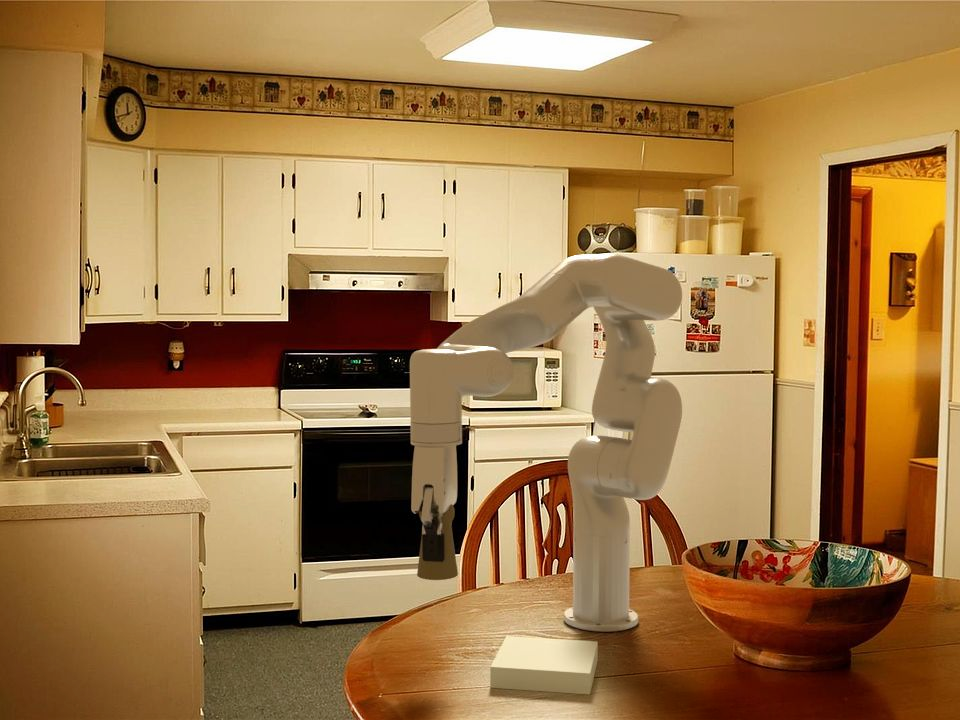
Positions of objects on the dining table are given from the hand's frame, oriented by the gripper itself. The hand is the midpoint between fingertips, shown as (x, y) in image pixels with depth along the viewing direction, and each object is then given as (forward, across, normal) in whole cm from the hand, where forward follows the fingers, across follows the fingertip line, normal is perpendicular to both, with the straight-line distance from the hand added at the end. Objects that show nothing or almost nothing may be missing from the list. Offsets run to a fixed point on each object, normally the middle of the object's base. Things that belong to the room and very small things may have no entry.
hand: (437, 555), depth 157 cm
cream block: (+17, -1, +16) cm, 23 cm away
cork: (+3, 0, 0) cm, 3 cm away
